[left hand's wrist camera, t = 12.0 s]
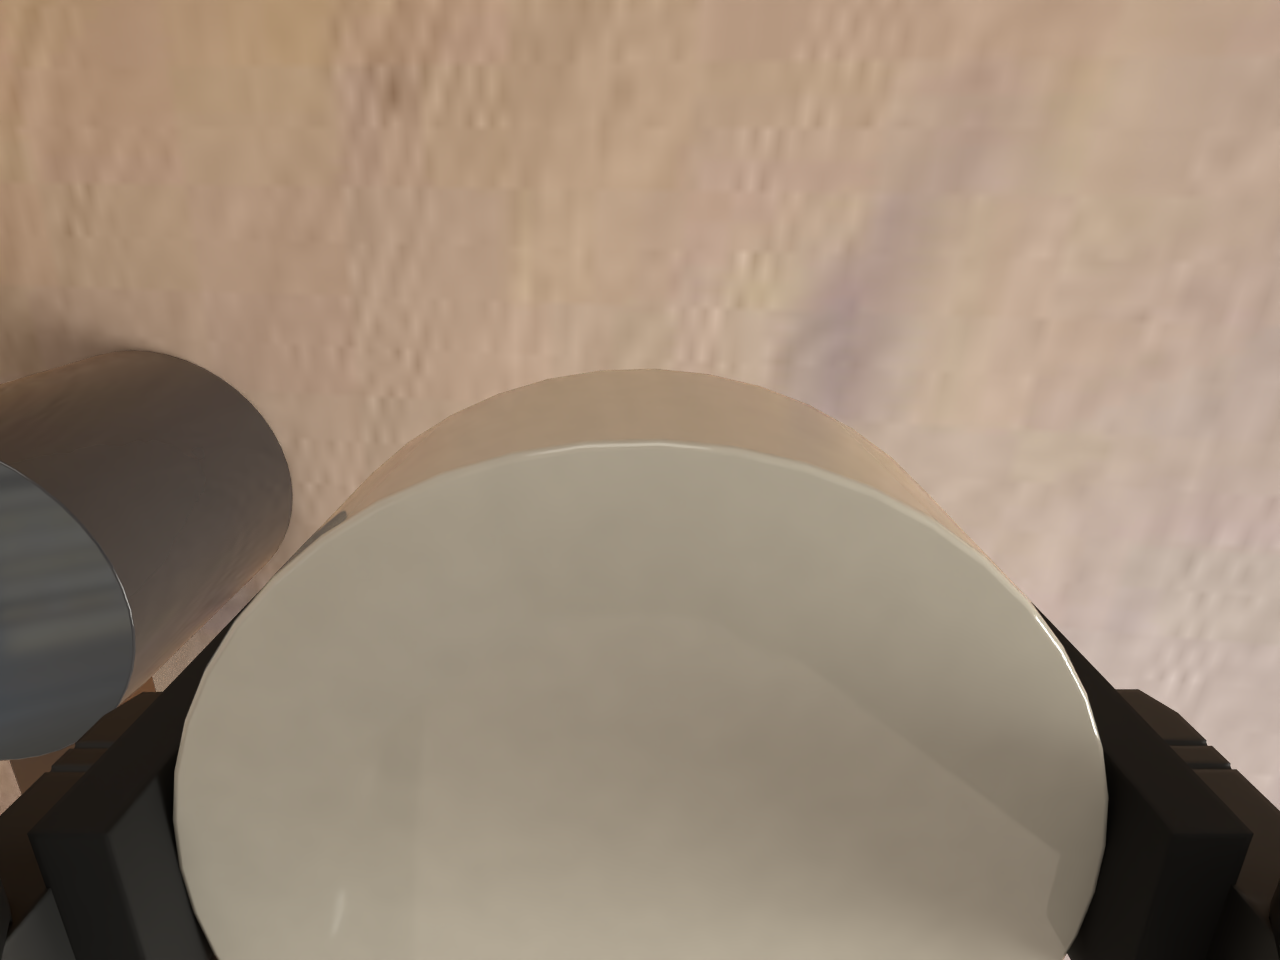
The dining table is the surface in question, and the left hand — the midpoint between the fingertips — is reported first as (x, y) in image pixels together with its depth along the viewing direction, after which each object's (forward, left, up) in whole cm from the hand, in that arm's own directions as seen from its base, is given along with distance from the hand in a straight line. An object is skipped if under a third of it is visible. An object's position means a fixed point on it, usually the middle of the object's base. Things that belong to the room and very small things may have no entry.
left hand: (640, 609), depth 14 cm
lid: (0, 0, +3) cm, 3 cm away
